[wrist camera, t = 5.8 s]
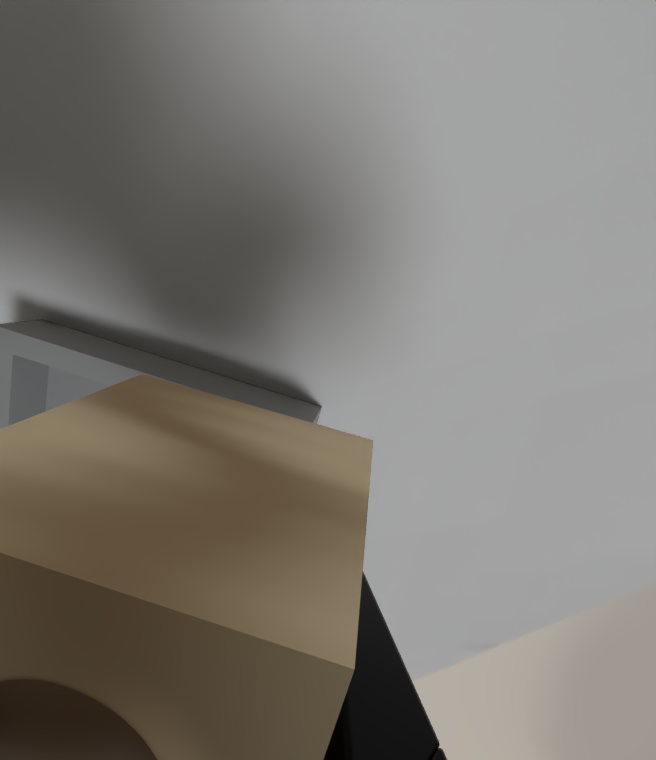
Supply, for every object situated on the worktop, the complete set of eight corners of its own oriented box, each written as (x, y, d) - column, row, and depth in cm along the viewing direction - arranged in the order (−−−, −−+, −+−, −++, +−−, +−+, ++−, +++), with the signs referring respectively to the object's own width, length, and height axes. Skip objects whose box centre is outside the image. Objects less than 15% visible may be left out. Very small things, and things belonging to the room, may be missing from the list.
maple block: (117, 567, 10) (-141, 844, 5) (142, 373, 9) (-176, 497, 4) (315, 631, 10) (242, 996, 5) (373, 440, 8) (354, 674, 3)
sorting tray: (22, 558, 23) (-20, 589, 21) (42, 319, 19) (-8, 324, 17) (254, 642, 22) (237, 686, 20) (321, 406, 18) (310, 425, 16)
